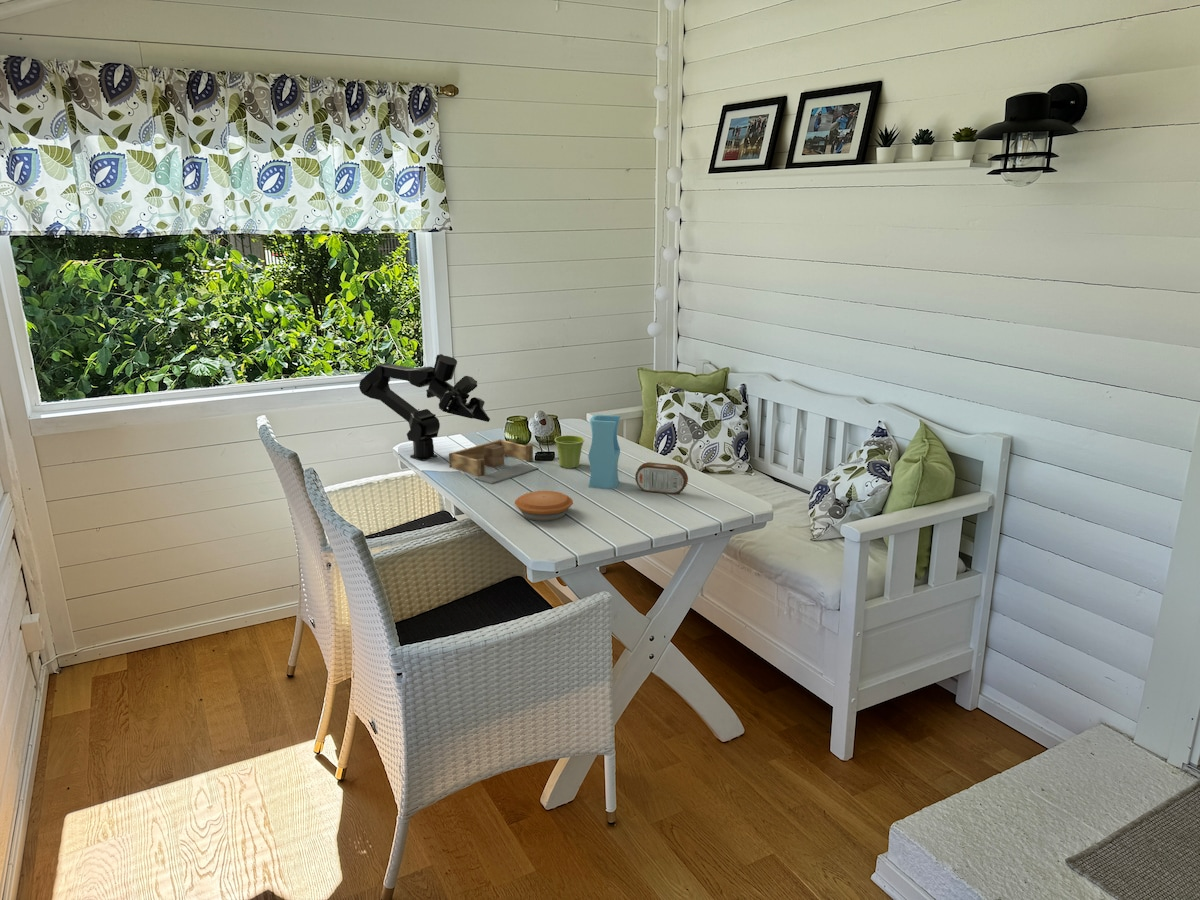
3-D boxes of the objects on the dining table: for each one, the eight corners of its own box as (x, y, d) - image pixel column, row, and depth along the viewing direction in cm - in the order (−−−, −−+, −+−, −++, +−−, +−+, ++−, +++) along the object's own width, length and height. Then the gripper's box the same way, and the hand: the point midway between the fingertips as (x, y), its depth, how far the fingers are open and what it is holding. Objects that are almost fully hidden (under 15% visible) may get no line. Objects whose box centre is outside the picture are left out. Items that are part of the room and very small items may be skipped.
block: (484, 465, 277) (483, 447, 275) (494, 462, 280) (493, 444, 278) (493, 467, 274) (493, 449, 272) (504, 464, 277) (503, 446, 276)
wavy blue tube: (614, 489, 255) (615, 422, 249) (588, 487, 256) (588, 420, 251) (619, 480, 262) (620, 415, 257) (593, 479, 264) (594, 414, 258)
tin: (687, 493, 252) (688, 465, 250) (685, 496, 249) (686, 468, 247) (636, 488, 256) (637, 460, 253) (634, 491, 253) (634, 463, 250)
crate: (448, 467, 274) (448, 451, 272) (501, 452, 290) (501, 437, 289) (480, 476, 265) (480, 460, 263) (532, 460, 282) (532, 445, 280)
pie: (542, 500, 245) (542, 483, 244) (584, 513, 236) (584, 495, 234) (502, 515, 234) (502, 497, 232) (545, 528, 224) (545, 510, 223)
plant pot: (586, 462, 281) (586, 435, 278) (582, 470, 272) (582, 443, 269) (557, 461, 282) (556, 434, 279) (552, 469, 273) (552, 442, 270)
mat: (474, 479, 263) (474, 477, 263) (522, 464, 277) (522, 463, 277) (491, 484, 258) (491, 482, 258) (538, 469, 273) (538, 467, 273)
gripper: (441, 365, 263) (478, 392, 257) (475, 375, 280) (509, 400, 274) (423, 397, 264) (459, 424, 258) (457, 404, 281) (492, 430, 275)
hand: (481, 418), depth 267 cm, fingers open, 9 cm apart
